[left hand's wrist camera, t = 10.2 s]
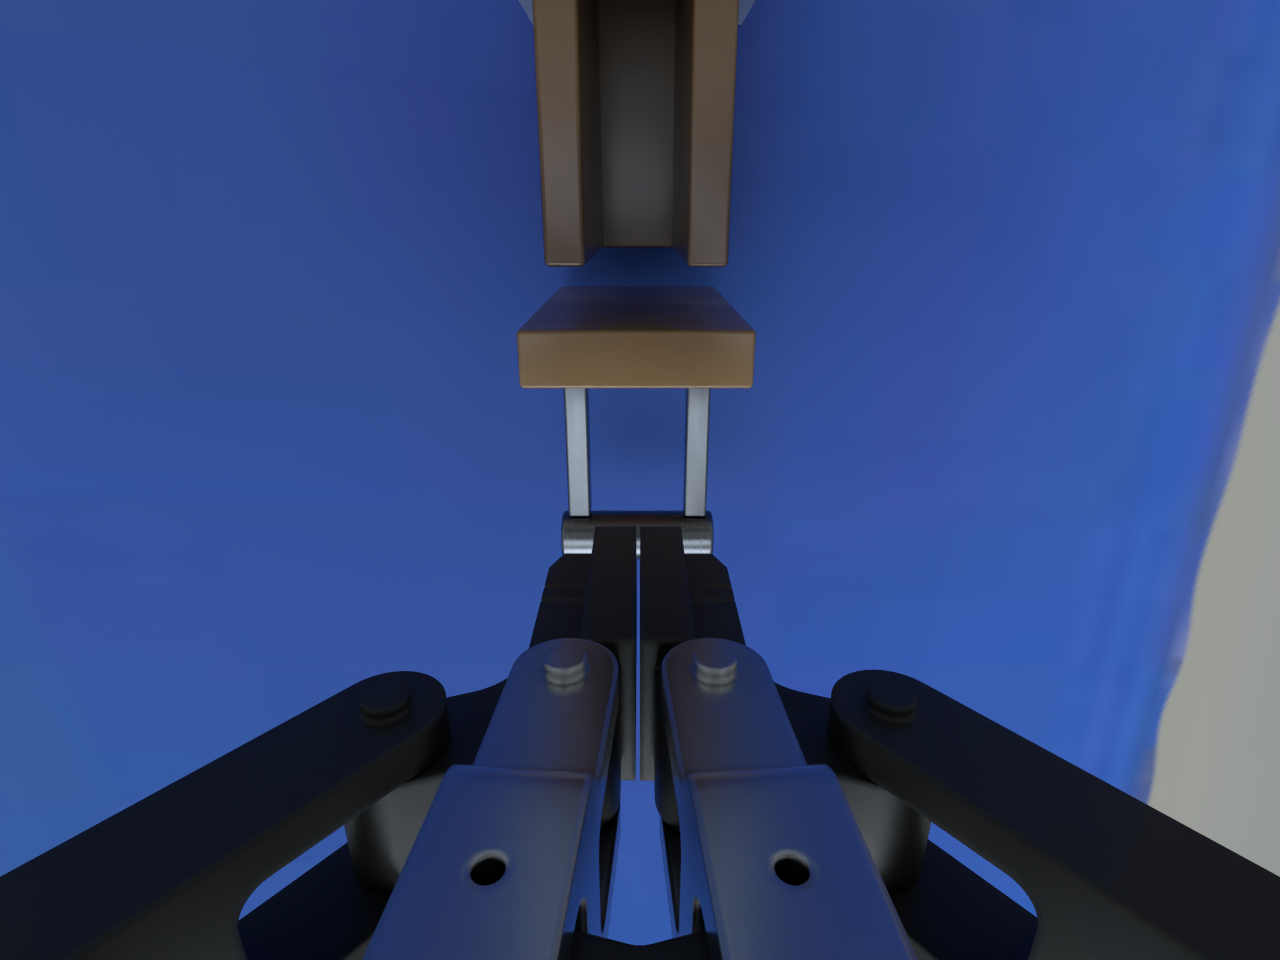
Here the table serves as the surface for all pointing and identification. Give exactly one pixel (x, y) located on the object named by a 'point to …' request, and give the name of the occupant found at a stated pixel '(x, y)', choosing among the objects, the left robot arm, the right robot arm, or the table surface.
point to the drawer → (636, 226)
